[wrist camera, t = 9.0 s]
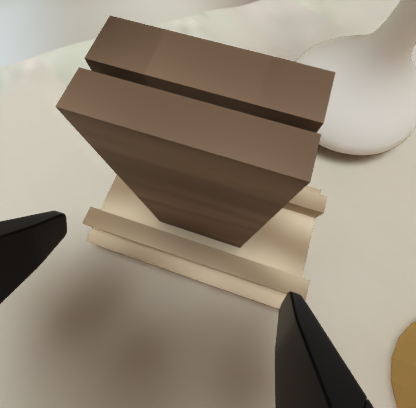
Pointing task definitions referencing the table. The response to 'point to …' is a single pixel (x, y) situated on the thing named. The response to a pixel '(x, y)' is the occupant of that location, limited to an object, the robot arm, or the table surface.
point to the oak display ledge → (214, 245)
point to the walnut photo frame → (199, 125)
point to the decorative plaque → (405, 369)
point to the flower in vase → (370, 85)
